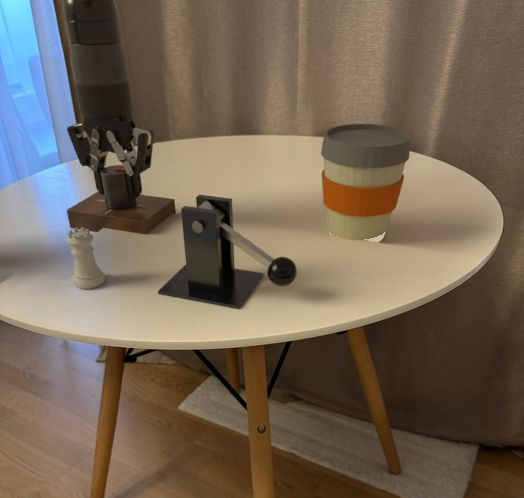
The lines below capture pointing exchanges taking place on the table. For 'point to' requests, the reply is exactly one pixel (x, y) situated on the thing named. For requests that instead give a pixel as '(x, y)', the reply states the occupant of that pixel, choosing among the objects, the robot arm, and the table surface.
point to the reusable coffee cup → (362, 177)
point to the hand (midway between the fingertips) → (119, 194)
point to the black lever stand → (210, 259)
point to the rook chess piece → (84, 260)
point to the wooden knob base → (121, 214)
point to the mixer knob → (116, 187)
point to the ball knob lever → (258, 253)
